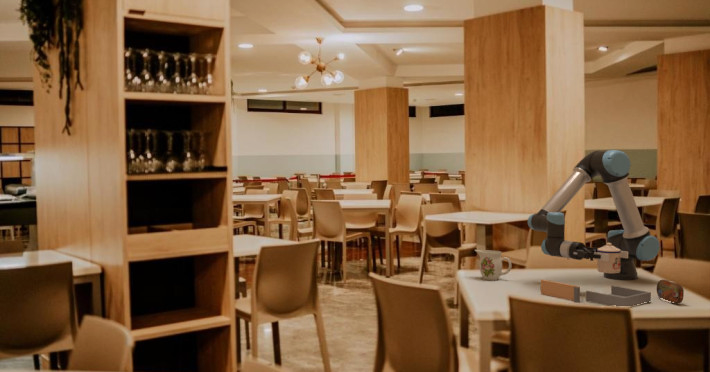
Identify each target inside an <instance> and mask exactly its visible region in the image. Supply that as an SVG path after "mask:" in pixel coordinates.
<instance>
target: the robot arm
mask: <svg viewBox="0 0 710 372" xmlns="http://www.w3.org/2000/svg"><path fill="white" fill-rule="evenodd" d="M631 166H632V165H631V160H630V158H629V156H628V154H626V152H624V151H622V150H616V149H607V150H594V151H592V152H590V153H588V154H586V155H585V156H584V157H583V158H582V159H580V161H579V162H578V163H577V164H576V165H575V166H574V167H573V169H572V173H571V174H570V175H569V176H568V177H567V179H565V181H564V182H563V183H562V184H561V185H560V187H559V188H558V189H557V190H556V191H555V192H554V193H553V194H552V196H551V197H550V198H549V200H548V201H546V203H545V204H544V205H543V206H542V207H541V209H540V210H539V211H537V213H534V214H530V215H529V216H528V218H527V225H528V227H529V228H530V229H531V230H534V231H536V232H542V233H543V232H544V233H546V238H544V239H543V241H542V243H541V245H540V249H541V252H542V253H543V254H544V255H546V256H547V255H548V256H551V257H557V258H558V257H559V258H563V259H564V258H566V260H570V259H573V260H578V261H582V260H584V259H585V260H590V262H591V261H592V262H593V261H594V260H597V261H598V260H603V261H609V254H604V253H598V251H597V249H598V248H599V247H592V246H586V244H585V243H584V242H581V241H573V240H565V239H566V238H565V226H566V225H565V224H566V221H565V219H566V218H565V213H564V212H562V211H563V210H564V208H565V207H566V206H567V205H568V204H569V203H570V202H571V201H572V199H573V198H574V197H576V195H577V194H578V193H579V191H580V190H581V189H582V188H583V187H584V186H585V184H586V183H590V182H591V181H592V179H594V178H596V177H599V176H600V178H601V181H602V183H603V184H605V185H607V186H608V189H609V192H610V195H611V198H612V200H613V203H614V206H615V209H616V212H617V213H618V217H619V220H620V222H621V225H622V228H623V229H615V230H609V231H608V232H607V240H606V241H607V243H611V244H612V245H611V246H614V247H616V248H618V249H620V250H621V252H620V272H619V273H603V278H606V279H607V278H608V279H614V280H621V281H622V280H624V281H625V280H636V279H638V276H639V275H638V272H637V271H638V270H637V268H636V265H635V262H634V261H635V260H634V259H636V260H639V261H651V260H653V259H655V258H656V257H657V255H658V253H659V251H660V248H661V245H660V241H659V239H658V238H657V237H656V236H654V235H652V234H651V231H650V229H649V227H647V226H645V225H644V223H643V220H642V217H641V214H640V211H639V209H638V206H637V203H636V200H635V197H634V195H633V192H632V190H631V185H630V184H629V180H628V178H629V177H630V173H629V172H630V170H631Z"/></svg>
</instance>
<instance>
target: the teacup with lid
mask: <svg viewBox="0 0 710 372" xmlns="http://www.w3.org/2000/svg"><path fill="white" fill-rule="evenodd" d="M611 245H612V244H611V243H608V242H606V244H605V245H603V246H601V247H597V248H598V249H597V251H598V253H604V254H609V261H603V260H597V267H596V268H597V271H598V272H599V273H602V274H604V273H619V272H620V252H621V250H620V249H618V248H616V247H614V246H611Z"/></svg>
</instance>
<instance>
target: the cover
mask: <svg viewBox="0 0 710 372" xmlns="http://www.w3.org/2000/svg"><path fill="white" fill-rule="evenodd" d="M574 287H580V288H581V286H579V285H573V284H567V283H564V282H559V281H558V282H557V281H553V280H552V281H551V280H547V279H540V294H541V295H545V296H549V297H554V298H555V297H556V298H559V299H563V300H569V301H570V300H571V301H574Z"/></svg>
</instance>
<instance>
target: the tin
mask: <svg viewBox="0 0 710 372" xmlns="http://www.w3.org/2000/svg"><path fill="white" fill-rule="evenodd" d="M684 292H685V291H684V288H683V286H682V285H681V284H680V283H679V282H677V281H676V282H675V281H673V280H672V281H671V280H668V279H660V280H659V281H658V283H657V284H656V293H657V297H658V298H659V299H660V298H663V299H665V300H668V301H671V302H674V303H679V304H681V303H682V302H683V300H684Z"/></svg>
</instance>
